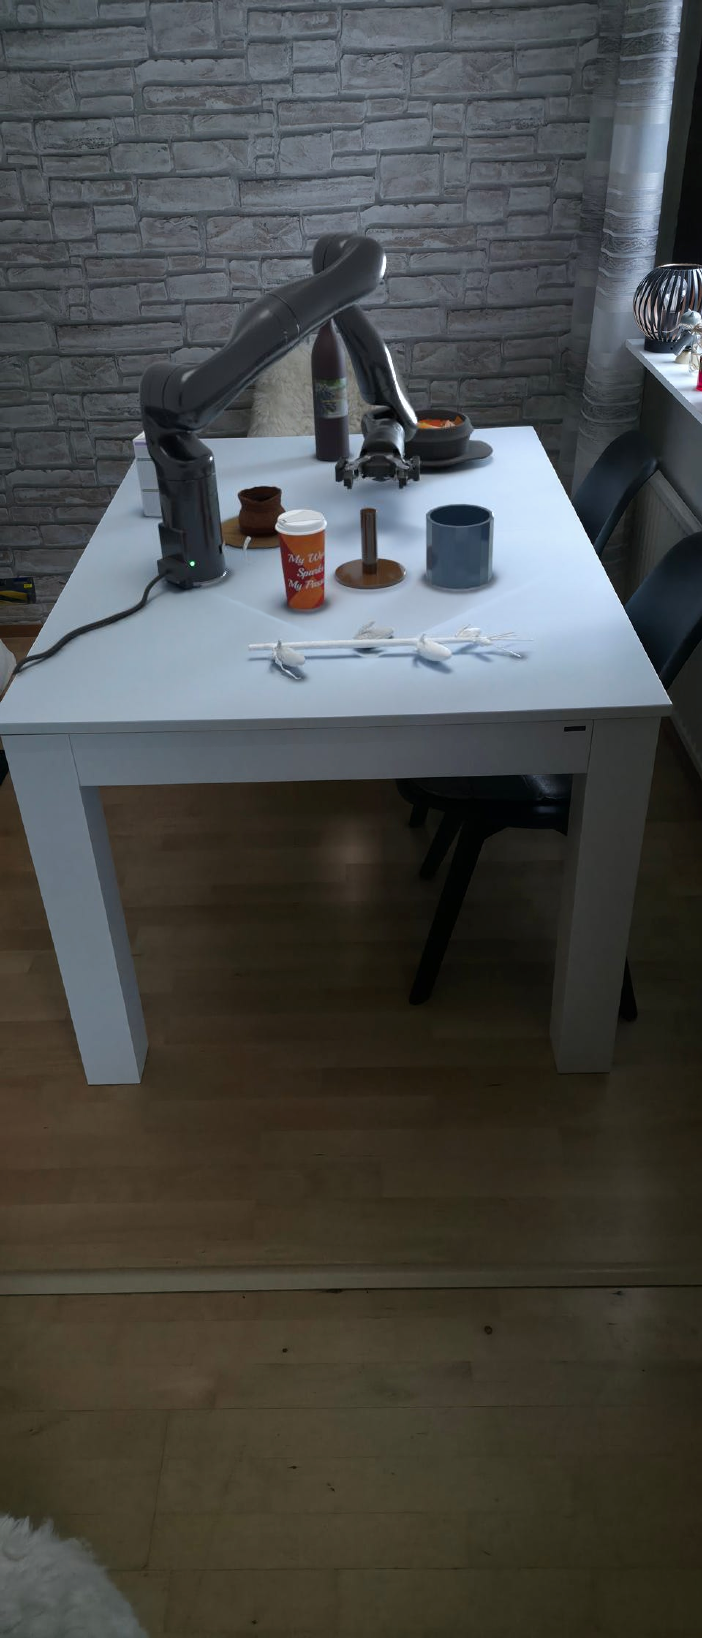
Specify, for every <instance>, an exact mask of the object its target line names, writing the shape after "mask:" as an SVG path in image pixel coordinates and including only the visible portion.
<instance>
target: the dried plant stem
mask: <svg viewBox="0 0 702 1638" xmlns="http://www.w3.org/2000/svg"><path fill="white" fill-rule="evenodd" d="M250 540H251V538H250V537H247V539H246V540H245V543H244V547H243V556H244V560H245V561H246V563H247V565H250V563H249V560H248V556H247V548H248V547H247V545H248V543H249V541H250ZM375 623H376V620H371V621H369V622H367V623H366V624H363V626H362V627H360V628H359V629H358V631H357V632H356V634H355V636H353V638H352V639H346V640H345V639H343V640H342V639H341V640H340V639H339V640H317V641H313V640H312V641H294V642H293V641H292V642H291V641H290V642H283V640H282V639H281V638H279V639H278V640H277V642H274V643H273V642H272V643H271V642H270V643H254V644H252V643H251V644H248V651H249V652H252V651H253V652H254V651H255V652H257V651H258V652H259V651H263V652H264V651H271V652H272V653H270V654H269V656H268V657H269V659H270V661H271V660H275V664H277V665H278V666H279V667H281V670H283V671H285V672H286V673H287V674H289V675H290V676H291V677H293V678H295V679H296V680H300V679H302V677H297V676H296V675H294V673H292V672H291V671H290V670H288V669H284V667H283V665H285V666H287V667H289V668H292V667H303V666H304V665H305V664H306V658H305V656H304V655H303V654H302V653H301V652H299V651H304V650H305V651H306V650H338V649H340V650H341V649H368V648H370V649H371V648H390V647H391V648H392V647H414V648H413V649H412V654H414V655H416V654H417V655H419V656H421V657H422V658H425V659H426V660H429V661H431V662H436V661H437V662H438V661H440V662H445V661H448V660H450V659H451V658H452V656H453V655H452V651H450V649H449V648H447V647H446V646H443V645H450V644H451V645H452V644H467V643H472V644H476V645H477V646H480V647H491V646H493V647H496V648H498V649H501V650H502V651H505V652H507V653H509V654H512V655H513V656H516V657H519V658H521V657H522V655H520V654H518V653H516V652H513V651H512V650H509V649H507V648H504V647H503V646H500V645H498V644H495V643H493V641H496V642H497V641H498V642H499V641H519V642H520V641H521V642H522V641H523V642H524V641H525V642H526V641H527V642H534V640H535V639H534V638H511V637H516V636H517V634H516V632H515V630H513V631H508V632H504V633H503V632H502V633H499V634H495V635H488V636H485V637H484V636H480V635H481V633H482V630H481V628H479V627H470V626H471V623H467V624H466V625H463V626H462V627H461V628H460V629H459V630H458V631H457V633H456V634H454V637H427V633H426V632H423V633H422V634H421V636H420V637H410V638H409V637H408V638H407V637H406V638H391V637H392V636H393V635H394V632H395V631H394V628H392V627H390V626H382V625H381V626H375V627H372V626H373V625H374V624H375ZM370 627H371V628H370ZM469 627H470V628H469ZM509 637H510V638H509Z"/></svg>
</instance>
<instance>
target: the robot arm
mask: <svg viewBox="0 0 702 1638" xmlns="http://www.w3.org/2000/svg"><path fill="white" fill-rule="evenodd" d="M310 261H311V262H310V263H311V264H310V265H311V271H312V274H313V275H310V276H306V277H304V278H300V279H297V280H294V281H290V282H288V283H284V284H281V285H279V286H276V287H274V288H271V289H270V290H268V291H266V292H265V293H262V294H261V295H260V296H258V297H257V298H256V299H255V300H253V301H252V302H250V303H249V304H248V305H247V306H245V307H244V308H243V309H242V310H241V311H240V312H239V313H238V314H237V315H236V317H235V319H234V320H233V322H232V325H231V327H230V331H229V335H228V338H227V341H226V343H225V345H223V346H222V347H221V348H220V349H219V350H218V351H217V352H215V353H214V354H212V355H211V356H209V357H208V358H207V359H204V360H203V361H201V362H199V363H196V364H186V363H180V362H175V361H168V360H158V361H155V362H152V363H151V364H149V365H148V366H147V367H146V368H145V370H144V371H143V372H142V375H141V377H140V381H139V386H138V404H139V411H140V418H141V423H142V429H143V431H144V434H145V439H146V445H147V449H148V453H149V455H150V458H151V459H152V461H153V463H154V465H155V469H156V475H157V483H158V490H159V498H160V506H161V513H162V517H161V520H162V521H161V522H159V523H158V524H157V530H158V537H159V545H160V551H161V558H160V559H157V560H156V566H157V573H158V575H156V576H155V577H154V578H153V579H152V580H151V581H150V582H149V583H148V584H147V586H146V587H145V589H144V592H143V595H142V598H141V600H140V601H139V602H138V603H137V604H135V605H134V606H133V607H131V608H129V609H126V610H124V611H120V612H117V613H115V614H113V615H110V616H108V617H105V618H103V619H100V620H98V621H97V620H96V621H94V622H91V623H87V624H85V625H82V626H80V627H77V628H75V629H73V630H71V631H69V632H68V633H66V634H65V635H64V636H62V638H60V639H59V640H58V641H57V642H56V643H55V644H54V645H53V646H52V647H50V648H49V649H47V650H46V651H43V652H40V653H37V654H32V655H29V656H26V657H24V658H22V659H21V660H19V662H17V664H16V665H15V667H14V668H13V671H12V673H11V675H12V676H15V675H18V674H19V672H20V670H21V669H22V667H23V666H25V665H26V664H27V663H29V662H33V661H37V660H42V659H45V658H48V656H51V655H52V654H53V653H55V652H56V651H57V650H58V649H59V648H60V647H61V646H62V645H64V644H65V643H66V642H67V641H68V640H70V639H71V638H73V637H74V636H77V635H78V634H81V633H83V632H85V631H88V630H91V629H94V628H97V627H100V626H103V625H107V624H108V623H111V622H114V621H116V620H119V619H121V618H124V617H127V616H129V615H132V614H134V613H136V612H137V611H138V610H140V609H141V608H142V607H143V606H144V605H145V604H146V602H147V601H148V597H149V594H150V591H151V589H152V588H153V587H154V586H155V585H156V584H157V583H158V582H159V581H160V580H162V579H163V578H164V579H165V580H166V581H168V582H170V583H173V584H175V585H178V586H179V587H182V588H184V589H191V588H195V587H203V585H206V584H210V583H213V582H218V581H219V580H221V579H223V578H224V577H225V576H226V575H227V572H228V569H227V566H226V555H225V551H226V544H225V540H224V542H223V537H222V527H221V524H222V518H221V510H220V500H219V492H218V481H217V472H216V462H215V455H214V453H213V451H212V450H211V449H210V448H209V447H208V446H207V445H206V444H204V443H203V441H201V440H200V438H199V437H198V436H197V434H196V431H200V430H203V429H204V428H206V427H208V426H209V425H210V424H211V423H213V421H215V420H216V419H217V418H218V417H219V416H220V415H221V414H222V413H223V412H224V411H225V410H226V409H227V407H229V405H230V404H231V403H232V402H233V401H234V400H235V399H236V398H237V397H238V396H239V395H240V394H241V393H242V392H243V391H245V389H246V388H248V386H250V385H252V384H253V383H254V382H255V381H256V380H257V379H259V378H260V377H261V376H262V375H263V374H264V373H265V372H267V371H268V370H269V369H270V368H271V367H272V366H274V365H275V364H277V363H279V362H280V361H282V360H283V359H284V358H285V357H286V356H287V355H289V354H290V353H291V352H292V351H294V350H295V349H297V347H298V346H300V345H301V344H302V343H303V342H304V341H306V339H308V338H309V337H310V336H312V335H313V334H314V333H315V332H317V331H319V329H320V328H321V327H322V326H323V325H324V324H326V323H327V322H328V321H329V320H331V319H332V318H333V323H334V325H335V327H336V329H337V330H338V332H339V335H340V338H341V339H342V342H343V344H344V346H345V349H346V351H347V354H348V356H349V359H350V362H351V365H352V368H353V372H354V375H355V376H354V377H355V379H356V382H357V386H358V389H359V393H360V396H361V398H362V400H363V402H365V403H366V404H367V405H370V406H379V407H376V408H373V409H372V408H371V409H369V410H368V411H366V412H365V413H364V414H363V415H362V417H361V421H360V429H361V434H362V437H363V439H364V440H363V442H362V446H361V449H360V452H359V455H358V457H357V458H356V459H355V460H354V461H349V459H347V458H348V457H344V456H343V457H340V458H339V460H337V461H336V463H335V466H334V476H335V477H334V478H335V482H337V483H343V487H344V488H346V489H347V490H353V485H354V483H355V482H358V483H362V482H366V481H367V480H372V481H374V482H377V483H383V482H384V483H385V482H389V481H392V482H395V483H397V482H398V490H404V487H407V486H408V484H409V482H410V480H412V482H420V481H421V467H420V458H419V456H413V457H412V459H410V461H404V444H405V442H408V441H411V440H412V439H413V438H414V437H415V436H416V434H417V431H418V420H417V417H416V414H415V412H414V411H415V410H414V408H413V407H412V405H411V404H410V401H408V399H407V397H406V395H405V394H404V392H403V391H402V388H401V386H400V384H399V382H398V379H397V378H398V377H397V375H396V371H395V367H394V362H393V359H392V355H391V353H390V350H389V348H388V346H387V344H386V342H385V341H384V339H383V337H382V336H381V334H380V333H379V331H377V329H376V328H375V326H374V325H373V324H372V323H371V321H370V319H369V318H368V317H367V315H366V314H365V311H364V310H363V308H362V307H361V305H360V302H361V301H363V300H364V299H365V298H367V297H369V296H370V295H372V294H373V293H374V292H375V291H376V289H377V288H378V287H379V286H380V284H381V282H382V280H383V278H384V277H385V272H386V268H387V256H386V252H385V249H384V247H383V245H382V244H381V243H380V242H379V241H378V240H376V239H375V238H373V237H370V236H369V235H365V234H358V233H357V234H356V233H346V232H339V231H336V232H335V231H334V232H333V231H331V232H330V231H329V232H326V233H324V234H322V235H321V236H319V237H318V238H317V240H316V241H315V243H314V246H313V248H312V253H311V260H310Z"/></svg>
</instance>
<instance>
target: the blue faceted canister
mask: <svg viewBox="0 0 702 1638" xmlns="http://www.w3.org/2000/svg"><path fill="white" fill-rule="evenodd" d="M494 515H495V514H494V512H493V511H492V510H491V509H489V508H487V507H485V506H481V505H477V504H471V503H469V504H467V503H452V504H445V505H439V506H437V507H434V508H432V509H430V510H429V511H427V512H426V513H425V579H426V581H427V582H428V583H430V584H431V585H434V586H435V587H439V588H442V589H449V590H469V589H473V588H478V587H481V586H483V585H485V584H488V583H489V581H490V580H491V579H492V578H493V554H494V528H495V525H494V524H495V516H494Z"/></svg>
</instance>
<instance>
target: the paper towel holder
mask: <svg viewBox="0 0 702 1638" xmlns="http://www.w3.org/2000/svg"><path fill="white" fill-rule="evenodd" d="M359 515H360V516H359V519H360V548H361V550H360V551H361V554H360V555H361V558H357V559H352V560H350V561H347V562H344V563H342V564H340V565H339V566H338V567H337V568H336V569H335V570H334V578H335V580H336V581H337V582H338V583H339V584H340V585H342V586H346V587H349V588H354V589H359V590H361V589H362V590H372V589H382V588H387V587H391V586H394V585H396V584H398V583H400V582H402V581H403V580H404V579H405V578H406V572H407V571H406V568H405V566H404V565H403V564H401V563H400V562H398V561H395V560H392V559H388V558H379V549H378V548H379V547H378V545H379V544H378V510H377V509H376V508H374V507H363V508H361V509H360V511H359Z"/></svg>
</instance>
